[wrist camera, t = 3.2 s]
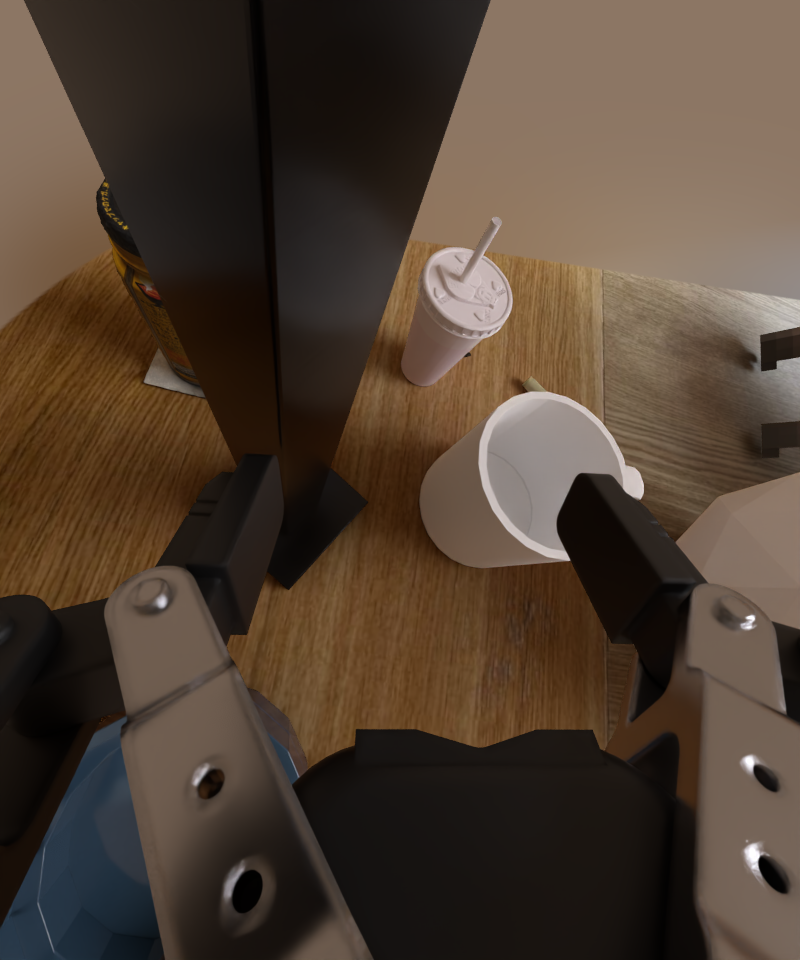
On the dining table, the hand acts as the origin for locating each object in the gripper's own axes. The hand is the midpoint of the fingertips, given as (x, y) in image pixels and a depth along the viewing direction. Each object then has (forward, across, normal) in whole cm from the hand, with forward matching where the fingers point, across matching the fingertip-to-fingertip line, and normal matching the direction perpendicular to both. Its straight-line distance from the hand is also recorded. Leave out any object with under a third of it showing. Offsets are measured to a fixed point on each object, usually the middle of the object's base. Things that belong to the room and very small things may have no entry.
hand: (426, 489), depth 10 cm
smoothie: (+24, -2, +6) cm, 25 cm away
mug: (+15, -8, +14) cm, 22 cm away
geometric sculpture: (+11, -29, +21) cm, 37 cm away
